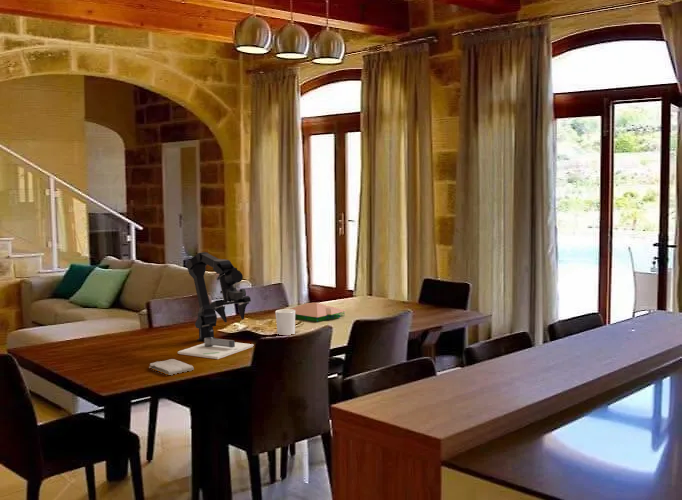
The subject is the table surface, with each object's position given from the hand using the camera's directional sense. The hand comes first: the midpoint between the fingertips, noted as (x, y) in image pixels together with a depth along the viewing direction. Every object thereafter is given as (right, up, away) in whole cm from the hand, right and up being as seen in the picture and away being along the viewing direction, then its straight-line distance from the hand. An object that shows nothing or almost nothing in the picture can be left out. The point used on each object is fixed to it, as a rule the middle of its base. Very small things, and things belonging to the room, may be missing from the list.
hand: (234, 320), depth 328 cm
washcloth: (-21, -17, -31) cm, 41 cm away
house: (+33, -5, +72) cm, 80 cm away
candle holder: (+21, -10, +27) cm, 36 cm away
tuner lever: (-7, -12, +1) cm, 14 cm away
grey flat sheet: (-8, -13, 0) cm, 16 cm away
